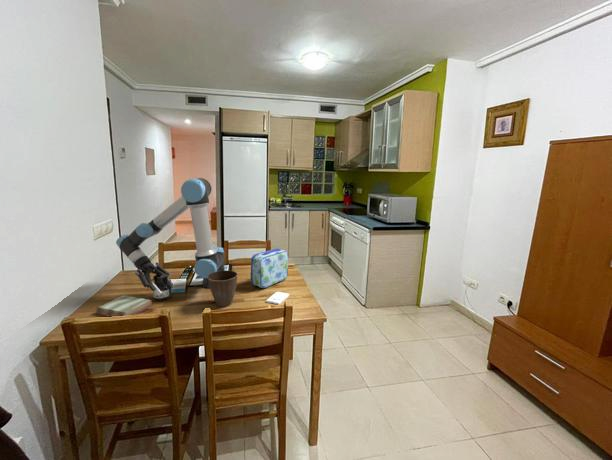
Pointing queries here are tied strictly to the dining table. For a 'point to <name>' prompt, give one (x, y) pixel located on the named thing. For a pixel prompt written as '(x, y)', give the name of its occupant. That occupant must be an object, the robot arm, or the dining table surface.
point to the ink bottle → (162, 286)
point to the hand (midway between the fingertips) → (166, 290)
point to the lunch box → (269, 267)
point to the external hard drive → (277, 298)
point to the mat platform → (124, 306)
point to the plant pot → (223, 286)
